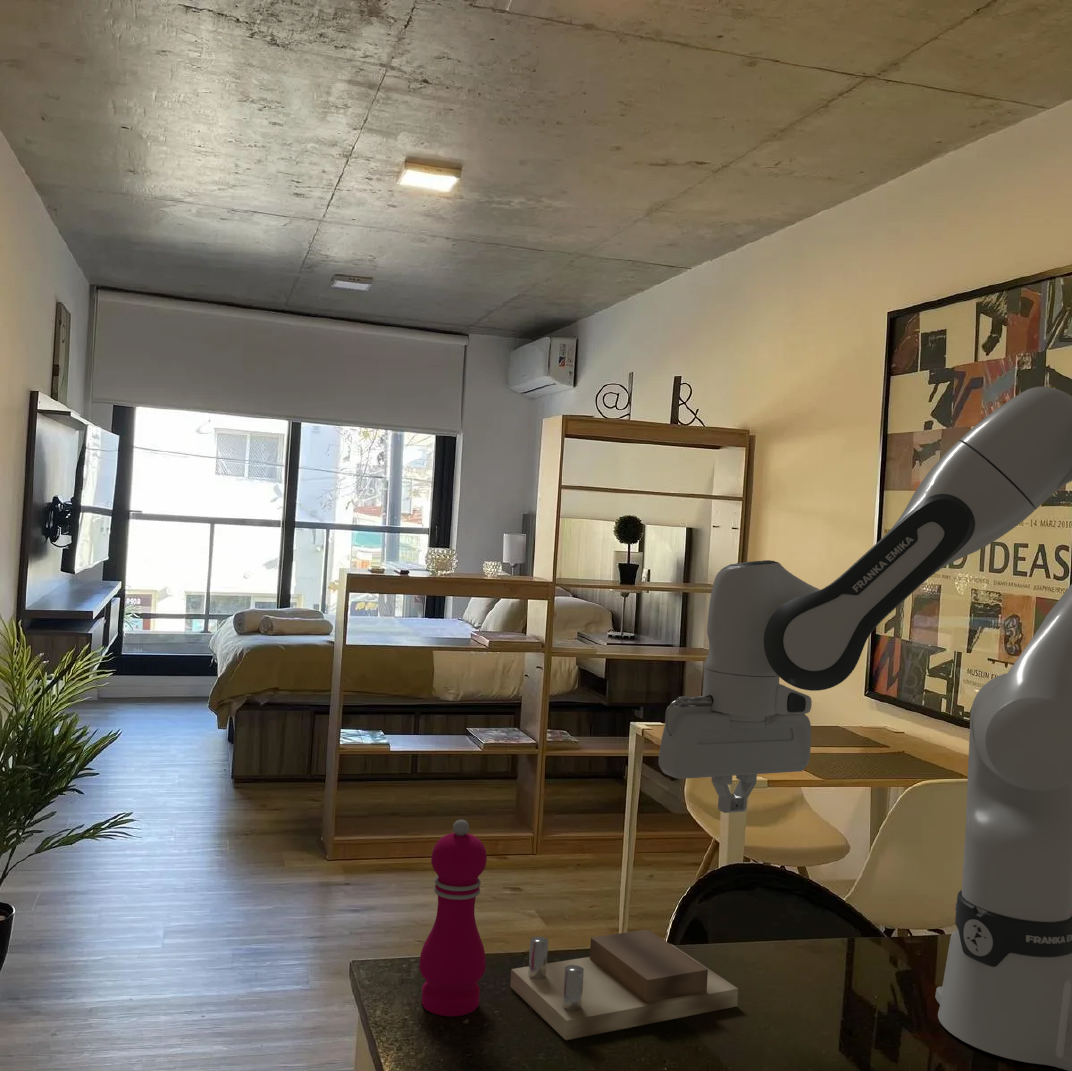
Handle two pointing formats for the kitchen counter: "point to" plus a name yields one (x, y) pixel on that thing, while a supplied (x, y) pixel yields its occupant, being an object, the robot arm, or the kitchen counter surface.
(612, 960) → the walnut plate
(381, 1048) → the kitchen counter surface
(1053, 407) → the robot arm
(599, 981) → the board
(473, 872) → the pepper mill
